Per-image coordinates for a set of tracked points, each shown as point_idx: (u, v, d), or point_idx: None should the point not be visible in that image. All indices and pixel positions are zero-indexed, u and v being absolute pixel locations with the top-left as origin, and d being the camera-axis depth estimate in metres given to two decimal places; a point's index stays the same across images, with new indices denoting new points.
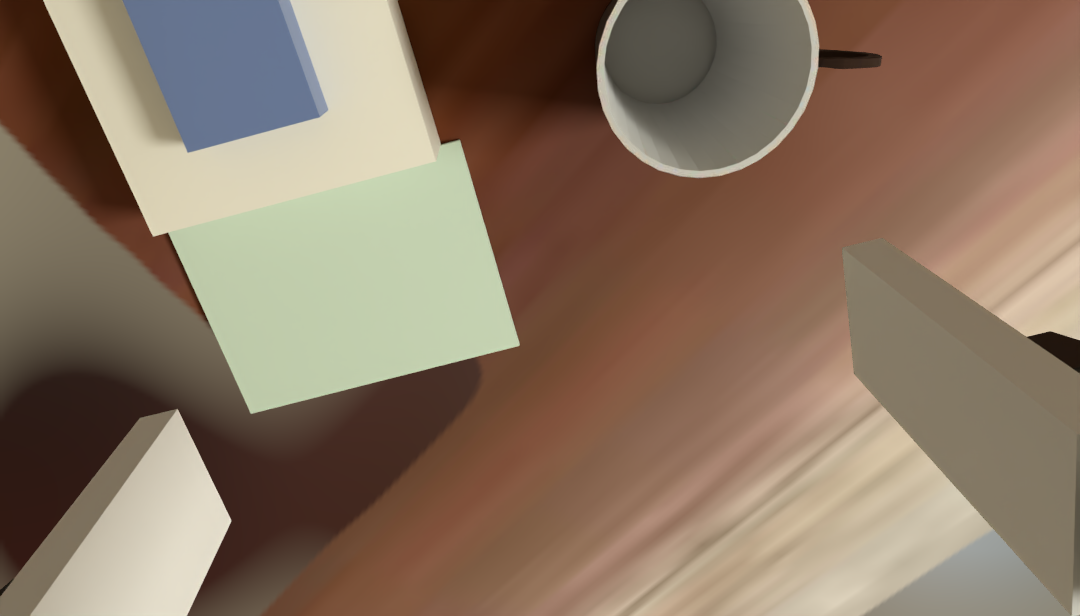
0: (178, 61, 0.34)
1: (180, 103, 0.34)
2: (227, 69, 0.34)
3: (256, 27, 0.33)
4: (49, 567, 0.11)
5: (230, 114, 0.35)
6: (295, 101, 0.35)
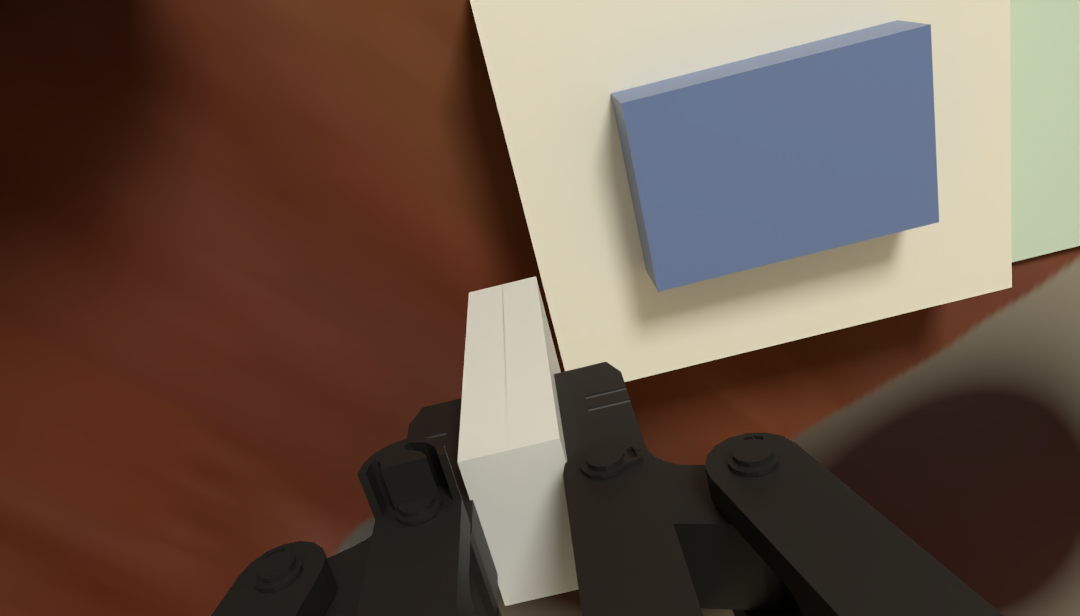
0: (821, 214, 0.25)
1: (874, 221, 0.25)
2: (841, 151, 0.24)
3: (793, 103, 0.23)
4: (490, 382, 0.13)
5: (901, 156, 0.24)
6: (901, 58, 0.23)
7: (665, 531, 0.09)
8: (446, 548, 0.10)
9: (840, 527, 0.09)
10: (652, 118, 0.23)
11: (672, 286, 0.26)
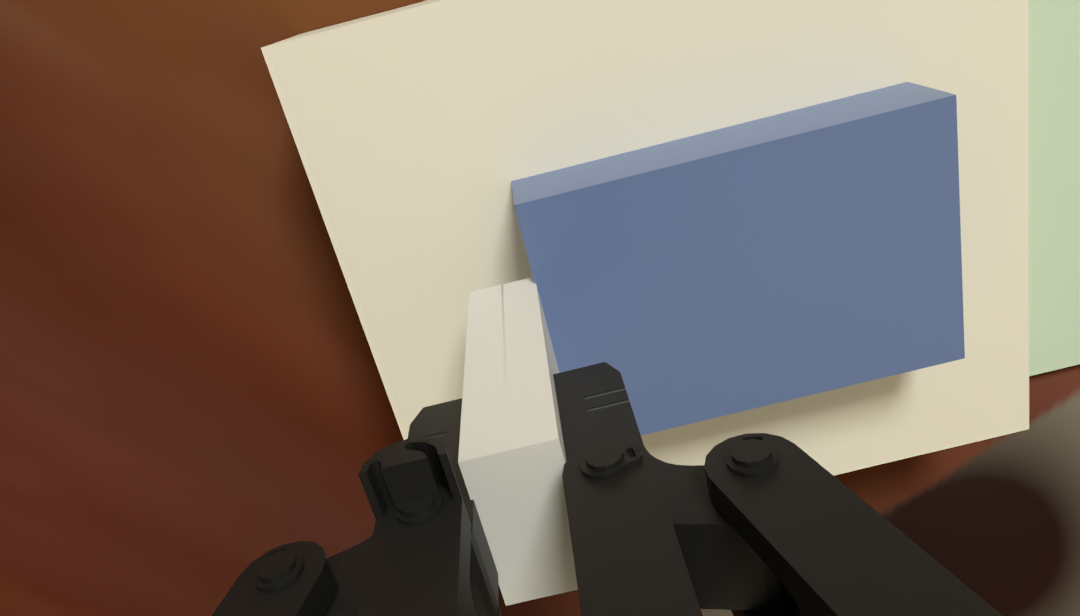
0: (801, 350, 0.18)
1: (875, 358, 0.18)
2: (829, 268, 0.17)
3: (760, 203, 0.17)
4: (491, 382, 0.13)
5: (912, 273, 0.17)
6: (914, 142, 0.16)
7: (664, 531, 0.09)
8: (446, 548, 0.10)
9: (839, 527, 0.09)
10: (560, 225, 0.16)
11: None
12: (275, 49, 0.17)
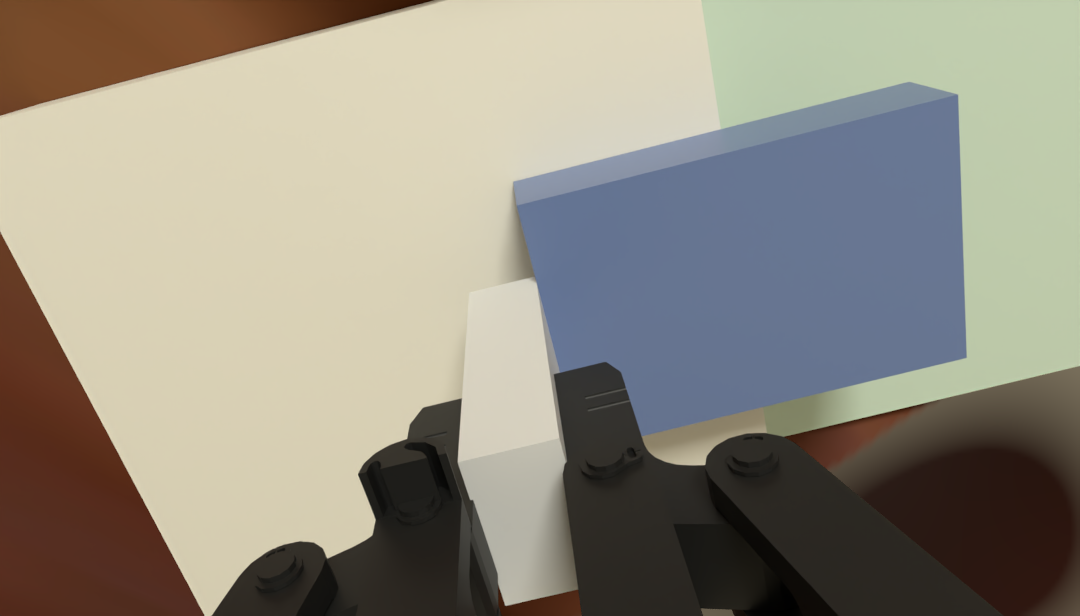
0: (803, 350, 0.18)
1: (877, 357, 0.18)
2: (831, 268, 0.17)
3: (763, 203, 0.17)
4: (491, 382, 0.13)
5: (914, 273, 0.17)
6: (915, 142, 0.16)
7: (665, 531, 0.09)
8: (446, 548, 0.10)
9: (840, 527, 0.09)
10: (562, 225, 0.16)
11: None
12: None
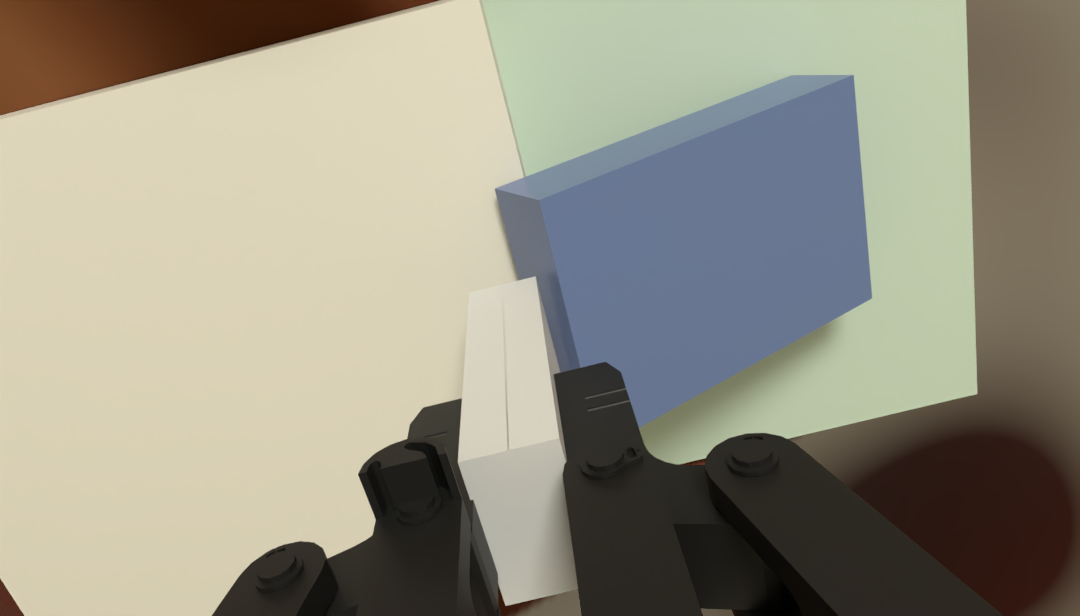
0: (767, 311, 0.20)
1: (817, 308, 0.21)
2: (782, 232, 0.20)
3: (733, 179, 0.18)
4: (490, 382, 0.13)
5: (836, 229, 0.20)
6: (830, 116, 0.19)
7: (665, 531, 0.09)
8: (446, 548, 0.10)
9: (840, 526, 0.09)
10: (579, 216, 0.17)
11: None
12: None
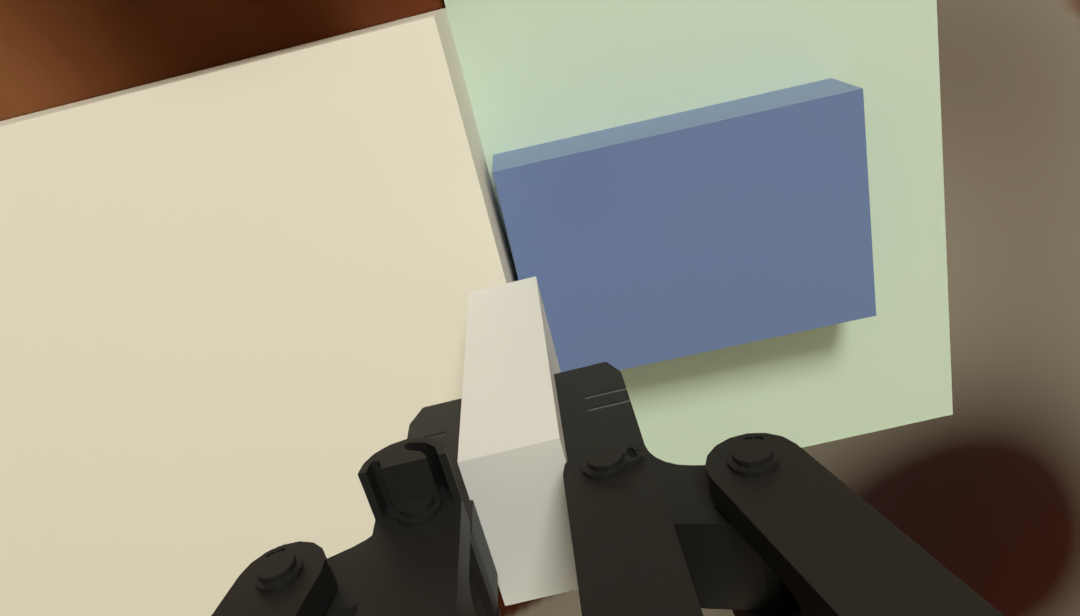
0: (735, 304, 0.21)
1: (798, 312, 0.21)
2: (758, 233, 0.20)
3: (699, 176, 0.20)
4: (490, 382, 0.13)
5: (829, 240, 0.21)
6: (828, 127, 0.19)
7: (665, 531, 0.09)
8: (446, 548, 0.10)
9: (840, 527, 0.09)
10: (530, 190, 0.20)
11: None
12: None
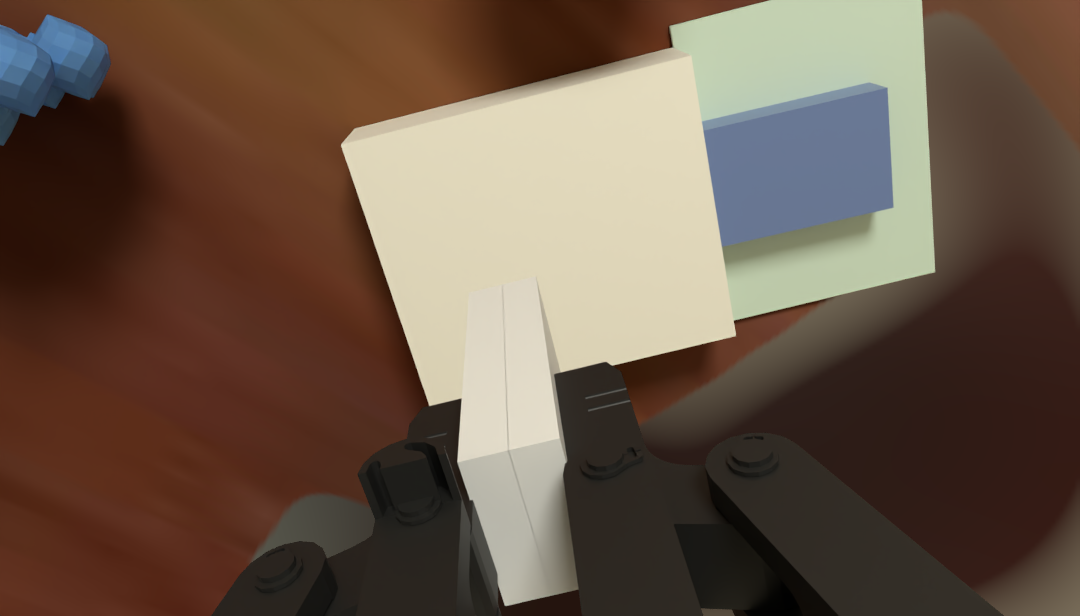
0: (819, 201, 0.40)
1: (853, 206, 0.40)
2: (833, 163, 0.39)
3: (804, 133, 0.39)
4: (490, 382, 0.13)
5: (869, 166, 0.40)
6: (870, 107, 0.39)
7: (665, 531, 0.09)
8: (446, 548, 0.10)
9: (840, 527, 0.09)
10: (718, 140, 0.39)
11: (726, 245, 0.41)
12: (347, 145, 0.36)
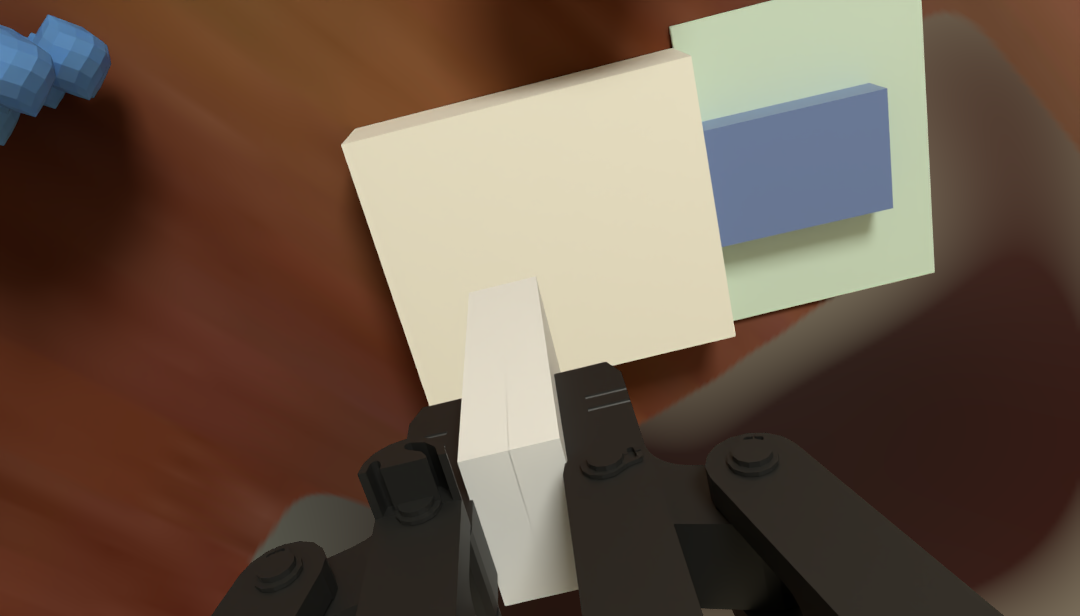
0: (819, 202, 0.40)
1: (852, 206, 0.40)
2: (832, 163, 0.40)
3: (804, 133, 0.39)
4: (490, 382, 0.13)
5: (869, 167, 0.40)
6: (869, 108, 0.39)
7: (665, 531, 0.09)
8: (446, 548, 0.10)
9: (840, 527, 0.09)
10: (718, 141, 0.39)
11: (725, 245, 0.41)
12: (347, 145, 0.36)
